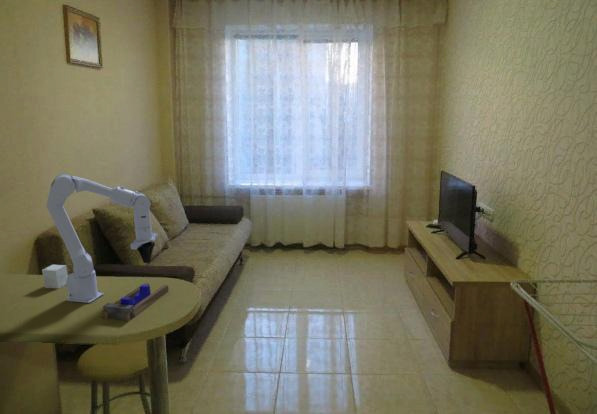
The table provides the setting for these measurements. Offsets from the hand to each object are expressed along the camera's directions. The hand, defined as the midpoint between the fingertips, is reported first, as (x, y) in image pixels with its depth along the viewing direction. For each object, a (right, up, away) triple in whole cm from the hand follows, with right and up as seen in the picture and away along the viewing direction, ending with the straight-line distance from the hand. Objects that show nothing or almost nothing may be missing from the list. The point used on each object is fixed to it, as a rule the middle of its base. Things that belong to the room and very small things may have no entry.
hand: (146, 262), depth 172 cm
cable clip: (+1, -14, -16) cm, 21 cm away
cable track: (+1, -13, -13) cm, 18 cm away
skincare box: (-36, -10, +6) cm, 38 cm away
